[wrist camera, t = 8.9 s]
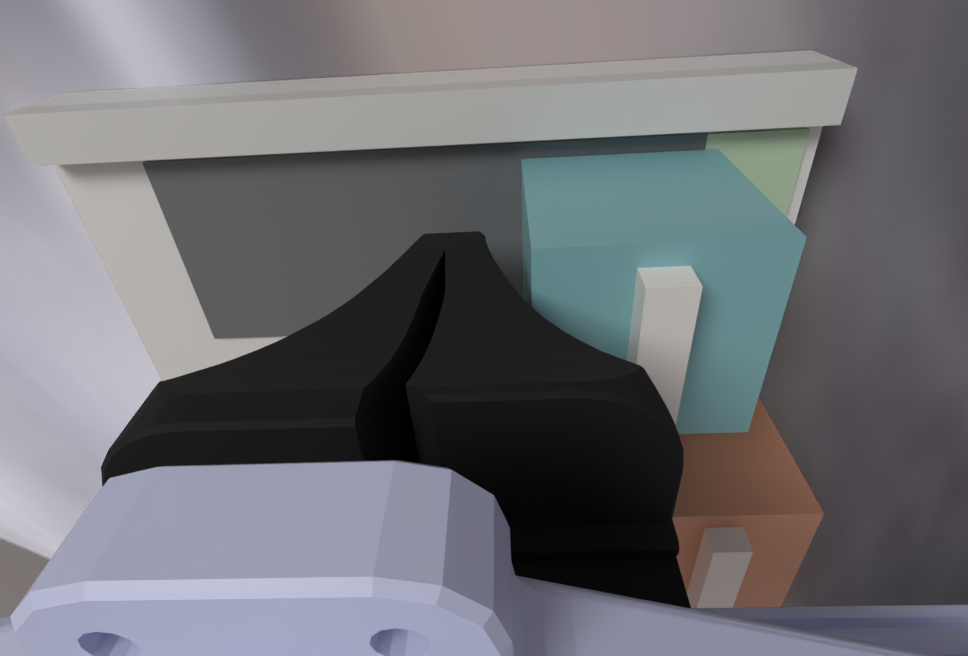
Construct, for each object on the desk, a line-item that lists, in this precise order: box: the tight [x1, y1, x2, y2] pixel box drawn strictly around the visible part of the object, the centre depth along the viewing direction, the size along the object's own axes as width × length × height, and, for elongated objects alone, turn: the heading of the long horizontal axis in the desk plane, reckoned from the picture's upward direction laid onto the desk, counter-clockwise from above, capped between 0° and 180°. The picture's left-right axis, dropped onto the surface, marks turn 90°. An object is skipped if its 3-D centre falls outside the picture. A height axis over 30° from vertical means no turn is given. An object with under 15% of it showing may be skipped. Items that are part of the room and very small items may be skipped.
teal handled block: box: [521, 149, 807, 434], centre depth 11 cm, size 4×4×5 cm
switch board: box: [3, 50, 858, 381], centre depth 16 cm, size 16×15×2 cm
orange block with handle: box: [672, 397, 824, 608], centre depth 15 cm, size 4×4×5 cm
